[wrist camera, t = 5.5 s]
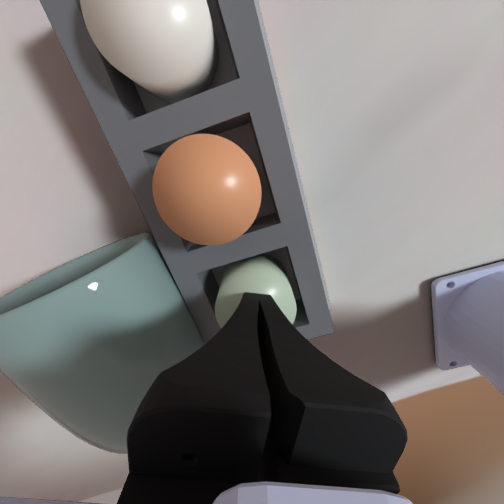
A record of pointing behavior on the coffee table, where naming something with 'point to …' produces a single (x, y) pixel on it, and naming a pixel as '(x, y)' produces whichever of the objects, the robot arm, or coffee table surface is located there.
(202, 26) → the white egg
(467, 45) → the coffee table surface
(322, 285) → the gray compartment tray
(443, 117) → the coffee table surface
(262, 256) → the pale green egg
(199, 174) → the orange egg
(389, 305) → the coffee table surface
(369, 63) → the coffee table surface
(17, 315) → the cup
